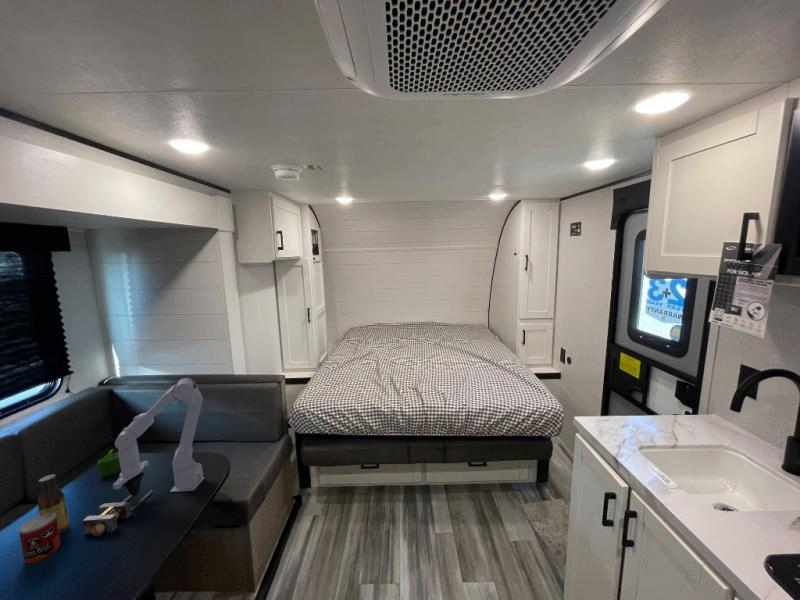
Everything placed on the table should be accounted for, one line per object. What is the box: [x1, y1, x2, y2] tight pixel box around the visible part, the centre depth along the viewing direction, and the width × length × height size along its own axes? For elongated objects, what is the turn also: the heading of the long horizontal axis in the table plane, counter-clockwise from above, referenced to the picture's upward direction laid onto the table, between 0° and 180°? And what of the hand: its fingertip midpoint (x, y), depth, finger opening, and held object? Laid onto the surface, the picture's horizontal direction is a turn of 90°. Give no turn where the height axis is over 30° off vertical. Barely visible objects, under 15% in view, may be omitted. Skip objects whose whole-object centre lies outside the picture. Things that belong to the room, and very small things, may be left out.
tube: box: [91, 509, 121, 537], centre depth 112 cm, size 10×3×3 cm, turn 2°
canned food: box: [19, 512, 61, 565], centre depth 101 cm, size 8×8×11 cm
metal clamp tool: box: [82, 489, 154, 535], centre depth 118 cm, size 9×20×5 cm, turn 2°
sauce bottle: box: [37, 473, 70, 535], centre depth 109 cm, size 6×6×20 cm
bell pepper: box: [97, 449, 121, 478], centre depth 143 cm, size 8×8×10 cm
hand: (134, 494), depth 124 cm, fingers closed
